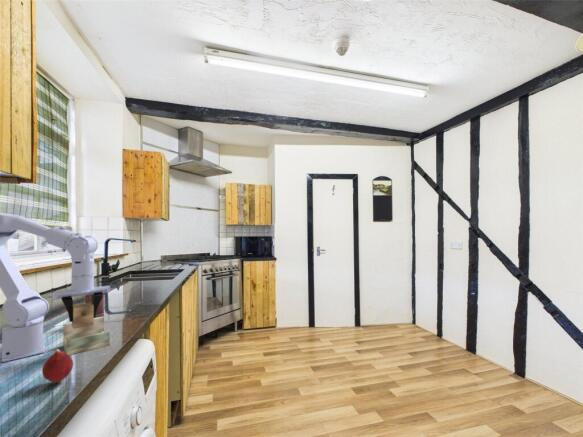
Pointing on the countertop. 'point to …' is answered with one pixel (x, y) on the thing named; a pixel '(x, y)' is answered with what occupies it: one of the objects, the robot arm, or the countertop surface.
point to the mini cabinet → (82, 315)
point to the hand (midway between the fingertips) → (82, 319)
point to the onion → (57, 367)
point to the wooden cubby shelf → (85, 337)
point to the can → (100, 308)
